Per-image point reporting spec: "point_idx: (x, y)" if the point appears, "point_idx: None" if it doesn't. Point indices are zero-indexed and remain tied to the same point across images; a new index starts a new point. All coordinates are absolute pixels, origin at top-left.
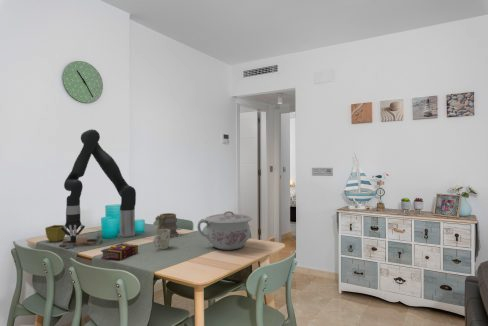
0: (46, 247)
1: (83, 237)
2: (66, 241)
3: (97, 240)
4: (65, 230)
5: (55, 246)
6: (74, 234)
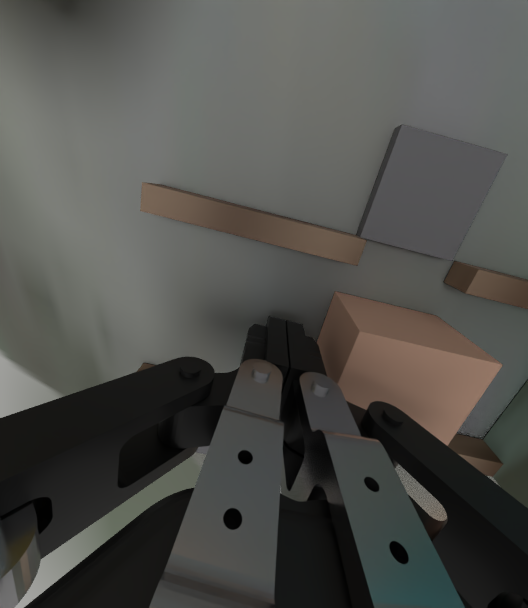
0: (4, 288)
1: (418, 422)
2: (198, 224)
3: (516, 498)
4: (69, 534)
5: (93, 296)
6: (296, 457)
